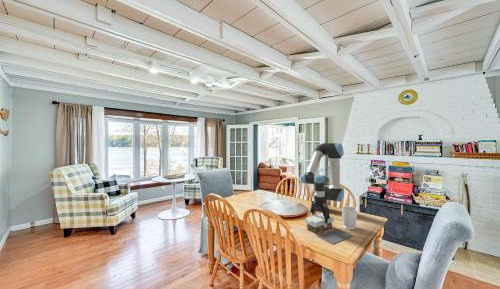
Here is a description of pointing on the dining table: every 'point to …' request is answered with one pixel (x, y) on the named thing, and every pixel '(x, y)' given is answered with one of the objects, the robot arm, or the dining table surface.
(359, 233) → the dining table surface
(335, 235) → the mat
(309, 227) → the box
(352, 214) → the jar
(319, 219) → the lid
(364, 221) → the dining table surface
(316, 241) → the dining table surface
